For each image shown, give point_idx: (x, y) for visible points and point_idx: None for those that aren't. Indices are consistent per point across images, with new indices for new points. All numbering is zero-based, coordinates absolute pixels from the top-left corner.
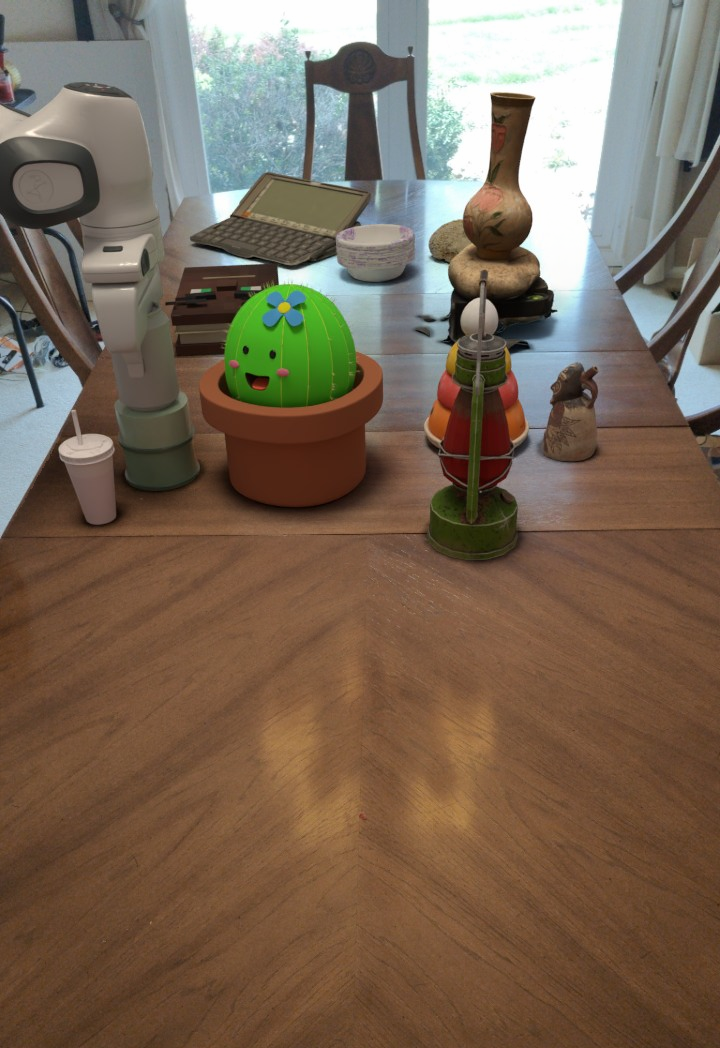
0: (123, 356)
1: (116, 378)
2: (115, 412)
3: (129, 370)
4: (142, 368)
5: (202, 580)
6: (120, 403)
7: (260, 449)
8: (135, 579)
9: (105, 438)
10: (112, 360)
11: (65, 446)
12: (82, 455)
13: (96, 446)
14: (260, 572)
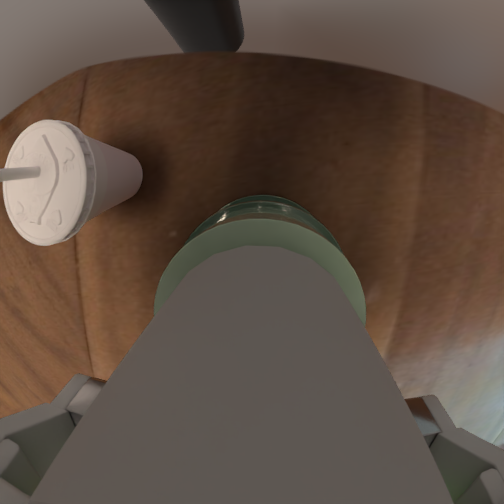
0: (6, 418)
1: (189, 287)
2: (222, 223)
3: (66, 389)
4: None
5: (20, 317)
6: (260, 238)
7: None
8: (11, 250)
9: (65, 223)
10: (193, 316)
11: (40, 135)
12: (9, 188)
13: (28, 212)
14: (42, 367)
